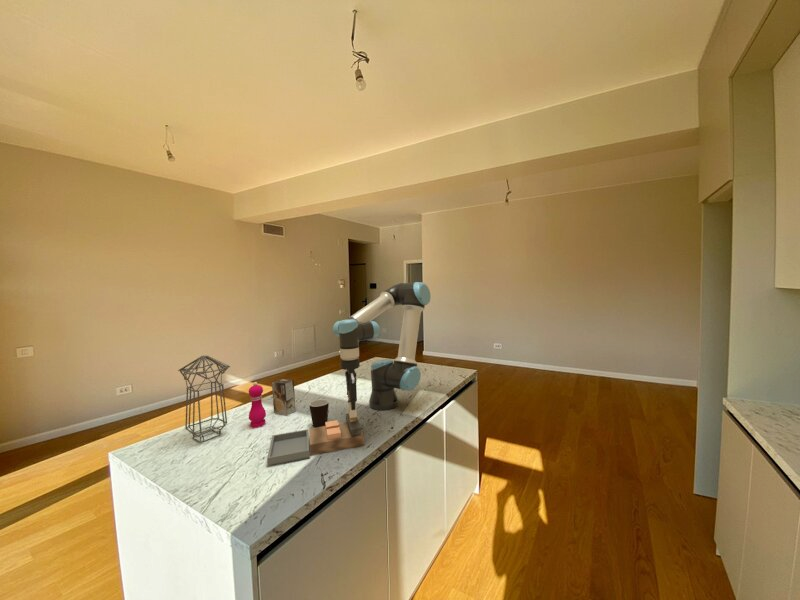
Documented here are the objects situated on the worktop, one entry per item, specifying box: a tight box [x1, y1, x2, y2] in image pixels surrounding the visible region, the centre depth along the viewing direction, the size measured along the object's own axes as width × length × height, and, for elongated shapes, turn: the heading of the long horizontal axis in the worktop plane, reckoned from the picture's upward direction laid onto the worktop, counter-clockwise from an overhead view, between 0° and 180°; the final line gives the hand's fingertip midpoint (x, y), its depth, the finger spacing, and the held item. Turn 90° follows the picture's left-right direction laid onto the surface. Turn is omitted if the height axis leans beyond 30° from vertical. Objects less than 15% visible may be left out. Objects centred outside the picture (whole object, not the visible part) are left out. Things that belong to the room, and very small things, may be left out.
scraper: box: [345, 391, 363, 436], centre depth 124 cm, size 4×16×14 cm, turn 18°
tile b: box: [326, 427, 341, 440], centre depth 118 cm, size 5×5×2 cm
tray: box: [266, 428, 311, 467], centre depth 117 cm, size 14×18×3 cm
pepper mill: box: [248, 381, 267, 429], centre depth 140 cm, size 7×7×20 cm
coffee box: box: [271, 378, 297, 416], centre depth 154 cm, size 9×6×16 cm
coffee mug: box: [308, 398, 330, 428], centre depth 139 cm, size 12×9×10 cm
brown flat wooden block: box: [308, 421, 365, 456], centre depth 122 cm, size 20×14×4 cm
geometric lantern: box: [177, 355, 231, 444], centre depth 131 cm, size 16×16×35 cm
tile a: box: [325, 419, 339, 432], centre depth 125 cm, size 5×5×2 cm
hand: (352, 415), depth 124 cm, fingers closed on scraper, 2 cm apart
